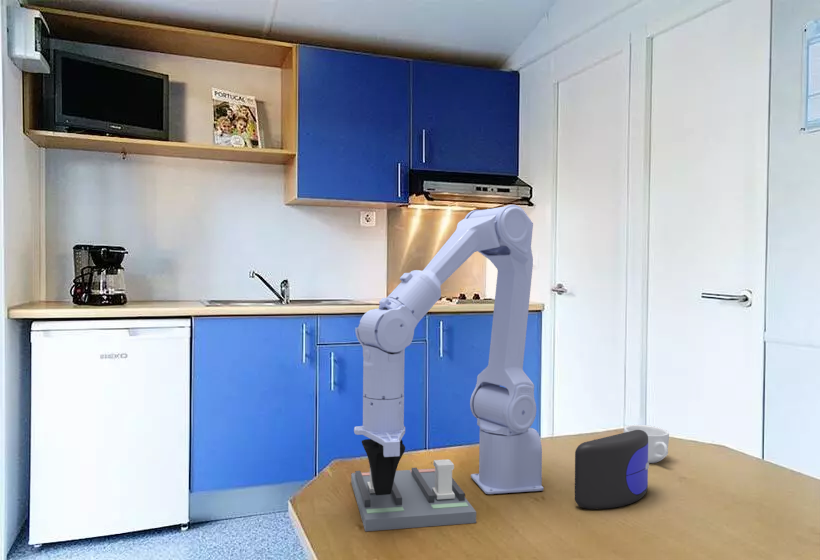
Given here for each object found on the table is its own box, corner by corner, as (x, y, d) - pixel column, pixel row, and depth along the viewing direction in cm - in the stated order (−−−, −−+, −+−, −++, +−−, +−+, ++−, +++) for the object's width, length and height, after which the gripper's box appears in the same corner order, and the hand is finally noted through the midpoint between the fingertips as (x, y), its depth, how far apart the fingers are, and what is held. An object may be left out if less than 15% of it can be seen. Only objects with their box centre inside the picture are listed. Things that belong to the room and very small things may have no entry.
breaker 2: (449, 490, 85) (449, 458, 85) (454, 498, 82) (455, 465, 82) (432, 491, 84) (432, 459, 84) (437, 499, 81) (437, 466, 81)
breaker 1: (384, 484, 87) (384, 453, 87) (387, 492, 84) (387, 459, 84) (367, 485, 86) (367, 454, 86) (369, 493, 83) (370, 460, 83)
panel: (442, 477, 95) (442, 462, 95) (476, 522, 78) (476, 504, 78) (351, 482, 92) (351, 467, 92) (365, 531, 75) (365, 512, 75)
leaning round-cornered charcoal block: (598, 518, 80) (599, 450, 80) (571, 507, 83) (572, 442, 83) (664, 494, 89) (665, 433, 89) (637, 485, 93) (638, 426, 93)
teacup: (615, 454, 109) (615, 425, 109) (651, 451, 111) (651, 423, 111) (646, 471, 100) (647, 440, 100) (686, 469, 101) (686, 438, 101)
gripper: (349, 386, 86) (348, 476, 87) (361, 408, 72) (360, 516, 72) (395, 385, 88) (394, 474, 88) (416, 406, 74) (415, 512, 74)
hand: (382, 493), depth 80 cm, fingers closed
